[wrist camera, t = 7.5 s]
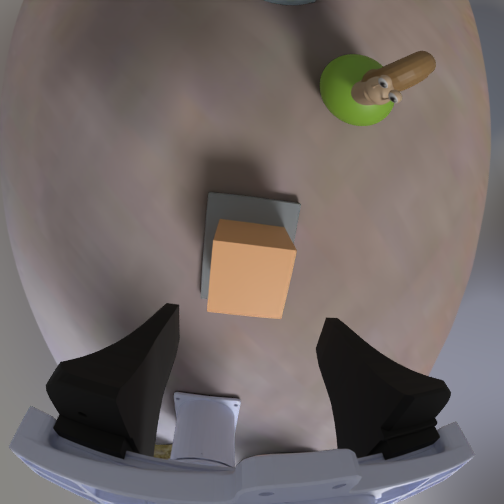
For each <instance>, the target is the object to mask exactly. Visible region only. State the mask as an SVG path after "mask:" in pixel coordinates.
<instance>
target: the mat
mask: <svg viewBox="0 0 504 504" xmlns="http://www.w3.org/2000/svg"><path fill="white" fill-rule="evenodd" d="M300 207H301V204H300V203H296V202H289V201H282V200H275V199H267V198H259V197H251V196H243V195H234V194H225V193H216V192H209V193H208V202H207V213H206V225H205V237H204V251H203V266H202V282H201V298H204V299H208V293H209V281H210V269H211V259H212V248H213V240H214V236H215V233H216V230H217V226H218V223H219V220H220V219H225V220H233V221H241V222H249V223H257V224H264V225H272V226H279V227H285V229H286V231H287V233H288V235H289V237H290V239H291V240H292V242H293V244H294V239H295V234H296V229H297V223H298V218H299V212H300Z"/></svg>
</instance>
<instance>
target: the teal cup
mask: <svg viewBox="0 0 504 504" xmlns="http://www.w3.org/2000/svg"><path fill="white" fill-rule="evenodd" d="M264 1H267V2H271V3H276V4H282V5H302V4H308V3H310V2H312V3H313V2H315V1H316V0H264Z"/></svg>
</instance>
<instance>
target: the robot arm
mask: <svg viewBox="0 0 504 504" xmlns="http://www.w3.org/2000/svg"><path fill="white" fill-rule="evenodd" d="M179 338H180V335H179V305H177V304H169V303H166V304H165V305H164V306H163V307H162V308H161V309H160V310H158V311H157V312H156V313H155V314H154V315H153V316H152V317H151V318H150V319H148V320H147V321H146V322H145V323H144V324H143V325H141V326H140V327H139V328H137V329H136V330H135V331H133V332H132V333H131V334H129V335H128V336H126V337H125V338H123V339H121V340H120V341H118V342H116V343H114V344H112V345H110V346H108V347H106V348H104V349H102V350H100V351H97V352H95V353H92V354H89V355H86V356H83V357H80V358H76V359H72V360H68V361H63V362H60V364H59V365H58V366H57V368H56V369H55V371H54V373H53V374H52V376H51V377H50V379H49V381H48V382H47V384H46V391H47V393H48V395H49V398H50V399H51V401H52V403H53V404H54V406H55V408H56V409H57V411H58V413H59V414H60V415H59V417H58V419H57V420H56V419H55V418H53V417H52V416H51V415H49V414H47V413H45V412H43V411H40V410H39V409H36V408H35V407H33V406H30V407H29V409H28V411H27V413H26V414H25V416H24V418H23V420H22V422H21V424H20V426H19V427H18V429H17V431H16V433H15V435H14V437H13V439H12V441H11V444H10V445H9V448H10V450H11V451H12V452H14V454H16V456H17V457H19V458H20V459H21V460H22V461H23V462H24V463H25V464H26V465H27V466H28V467H29V468H31V469H32V470H33V471H34V472H35V473H36V474H38V475H40V476H41V477H43V478H45V479H47V480H49V481H50V482H52V483H54V484H56V485H58V486H60V487H62V488H64V489H66V490H68V491H70V492H72V493H75V494H77V495H79V496H81V497H83V498H85V499H88V500H90V501H92V502H95V503H97V504H395V503H397V502H399V501H402V500H404V499H406V498H409V497H411V496H413V495H415V494H418V493H419V492H422V491H424V490H426V489H428V488H430V487H432V486H434V485H436V484H438V483H440V482H442V481H443V480H445V479H447V478H448V477H449V476H451V475H452V474H453V473H455V472H456V471H457V470H458V469H460V468H461V467H462V466H464V465H465V464H466V463H467V462H468V461H469V460H471V459H472V458H473V457H474V456H475V454H474V452H473V450H472V448H471V446H470V444H469V443H468V441H467V439H466V437H465V435H464V434H463V432H462V430H461V428H460V427H459V425H458V423H457V422H453V423H451V424H448V425H446V426H443V427H441V428H440V429H438V430H436V428H435V426H436V425H437V421H436V419H435V417H436V416H437V415H438V414H439V413H440V411H441V410H442V409H443V408H444V407H445V405H446V404H447V402H448V401H449V398H450V396H451V392H450V390H449V388H448V387H447V385H446V384H445V382H444V381H443V380H439V379H436V378H432V377H429V376H426V375H423V374H420V373H417V372H415V371H412V370H410V369H408V368H406V367H404V366H402V365H400V364H398V363H396V362H394V361H393V360H391V359H389V358H388V357H386V356H384V355H383V354H381V353H380V352H379V351H377V350H376V349H374V348H373V347H372V346H370V345H369V344H368V343H367V342H365V341H364V340H363V339H362V338H361V337H359V336H358V335H357V334H356V333H355V332H354V331H352V330H351V329H350V328H349V327H348V326H347V325H345V324H344V323H343V322H342V321H340V320H339V319H338V318H326V320H325V323H324V326H323V329H322V332H321V335H320V338H319V341H318V344H317V346H316V353H317V359H318V364H319V368H320V371H321V374H322V377H323V380H324V383H325V386H326V389H327V392H328V395H329V398H330V401H331V405H332V410H333V416H334V422H335V429H336V436H337V447H338V449H332V450H324V451H315V452H303V453H286V454H266V455H256V456H252V457H249V458H246V459H243V460H242V461H241V462H240V463H239V464H238V465H236V467H235V430H236V425H237V419H238V414H239V409H240V404H241V401H240V399H237V398H224V397H214V396H204V395H196V394H188V393H182V392H175V393H174V402H175V411H176V418H177V422H176V427H175V433H174V439H173V445H172V451H171V457H170V459H168V460H166V459H160V458H155V457H154V449H155V440H156V433H157V426H158V419H159V413H160V408H161V403H162V397H163V394H164V390H165V387H166V384H167V381H168V378H169V375H170V372H171V369H172V366H173V363H174V360H175V357H176V353H177V348H178V343H179Z"/></svg>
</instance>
